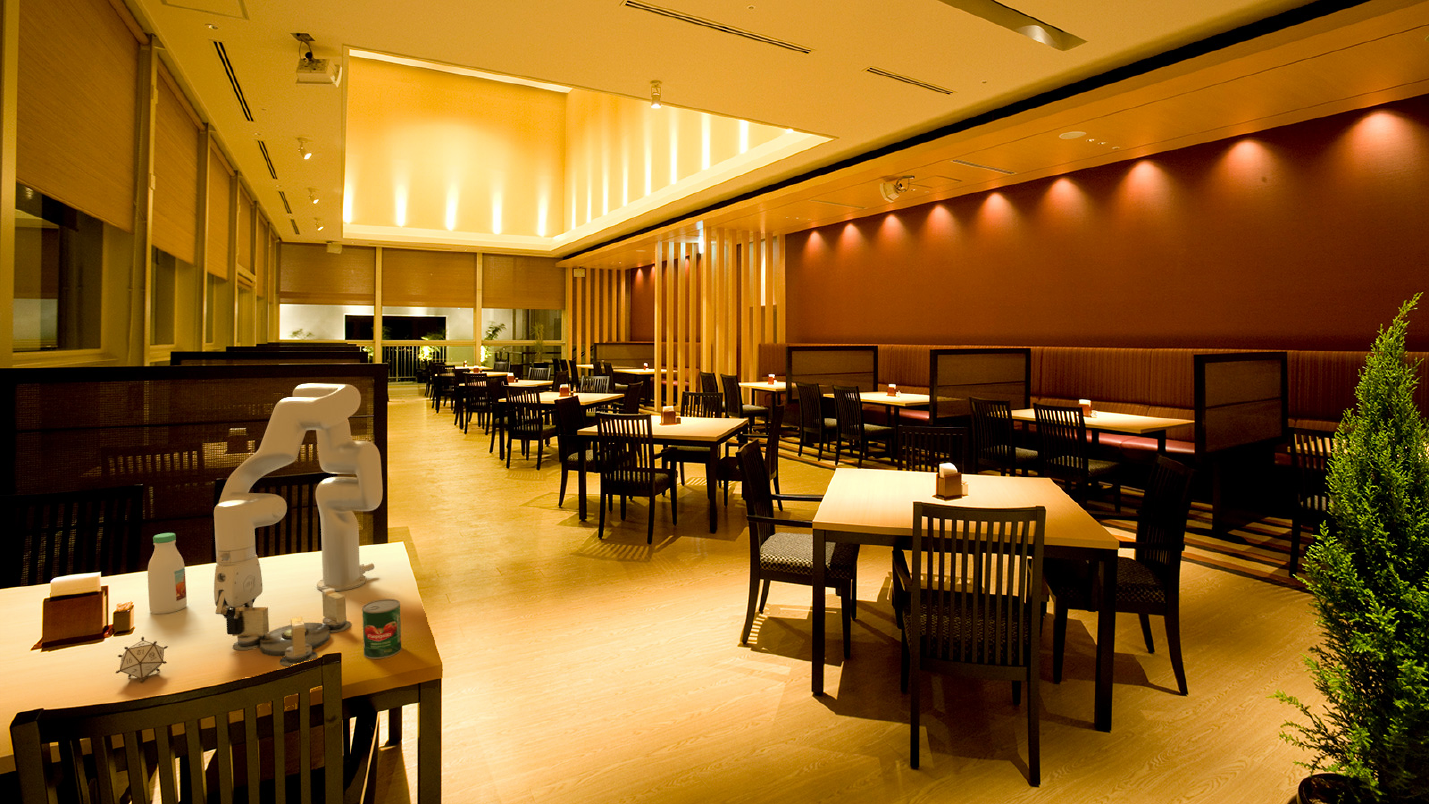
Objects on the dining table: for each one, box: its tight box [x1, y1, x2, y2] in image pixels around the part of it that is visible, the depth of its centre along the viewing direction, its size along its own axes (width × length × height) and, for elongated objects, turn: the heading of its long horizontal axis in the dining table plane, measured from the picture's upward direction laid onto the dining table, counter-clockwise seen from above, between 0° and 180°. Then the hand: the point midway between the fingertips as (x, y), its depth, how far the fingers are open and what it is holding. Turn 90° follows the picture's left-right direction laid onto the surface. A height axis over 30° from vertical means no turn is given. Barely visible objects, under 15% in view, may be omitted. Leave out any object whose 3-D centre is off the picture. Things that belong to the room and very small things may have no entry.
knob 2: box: [284, 616, 313, 662], centre depth 155 cm, size 7×5×8 cm
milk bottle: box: [147, 532, 188, 615], centre depth 182 cm, size 8×8×20 cm
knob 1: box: [230, 605, 270, 646], centre depth 162 cm, size 7×5×8 cm
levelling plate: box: [232, 620, 352, 667], centre depth 166 cm, size 22×24×4 cm
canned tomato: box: [361, 598, 403, 660], centre depth 159 cm, size 8×8×11 cm
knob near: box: [321, 588, 348, 629], centre depth 172 cm, size 7×5×8 cm
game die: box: [115, 636, 169, 683], centre depth 146 cm, size 9×8×10 cm
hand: (239, 630), depth 163 cm, fingers closed on knob 1, 2 cm apart
